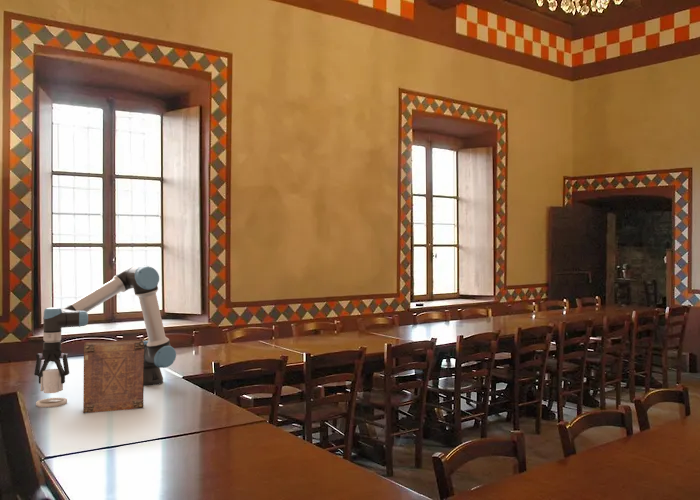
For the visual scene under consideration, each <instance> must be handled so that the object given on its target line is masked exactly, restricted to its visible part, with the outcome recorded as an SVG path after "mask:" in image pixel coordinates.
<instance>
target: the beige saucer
mask: <svg viewBox="0 0 700 500" xmlns="http://www.w3.org/2000/svg"><path fill="white" fill-rule="evenodd" d="M35 404H36V405H35V406H36V407H38V408H42V409H43V408H57V407H61V406H65V405H67V404H68V398H65V397H48V398H43V399H42V398H41V399H39V400H37V401H36V402H35Z"/></svg>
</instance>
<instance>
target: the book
mask: <svg viewBox="0 0 700 500" xmlns="http://www.w3.org/2000/svg"><path fill="white" fill-rule="evenodd" d="M143 341H144V340H143V339H129V340H127V339H126V340H123V339H122V340H106V341H105V340H103V341H100V340H98V341H84V345H83V400H82V401H83V402H82V403H83V406H82V407H83V410H82V412H83V413H84V414H91V413H92V414H93V413H102V412H114V411H128V410H138V409H144V391H145V390H144V389H145V388H144V387H145V386H144V342H143Z"/></svg>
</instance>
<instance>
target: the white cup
mask: <svg viewBox="0 0 700 500" xmlns="http://www.w3.org/2000/svg"><path fill="white" fill-rule="evenodd" d="M60 376H61V375H60V373H59V370H58V368H46V370H45V371H43V387H44V391H43V393H44V394H56V393H59V392H60V391H59V377H60Z"/></svg>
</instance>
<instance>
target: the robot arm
mask: <svg viewBox="0 0 700 500" xmlns="http://www.w3.org/2000/svg"><path fill="white" fill-rule="evenodd" d="M159 282H160V275H159V273H158V270H156V269H155V267H152V266H150V265H131V266H130V267H127V268H125V269H123V270H122V271H121V272H119V273H118V274H115V275H114V276H113V277H112V279H111V280H110V281H108V282H106V283H103V284H102V285H100V286H99V287H97V288H95V290H92V291H91V292H89V293H87V294H86V295H84V296H82V297H81V298H79V299H77V300H75V301H73V302H72V303H70V304H69V305H67V306H65V307H64V308H63V307H46V308H45V309H44V310H43V319H42V320H43V335H42V336H43V338H42V339H43V341H44V342H42V343H43V346H42V350H43V351H42V352H41V353H36V355H35V357H36V362H35V367H34V376H36V377H38V384H39V385H40V392H44V387H43V371H45V370H47V367H48V364H49V363H50V362H54V364H55V365H56V367H57V368H56V369H58V370H59V373H60V375H61V376H60V377H59V392H61V391H63V390H64V384H65V383H66V376H68V375H69V374H70V369H69V368H70V367H69V362H68V361H69V360H68V356H69V353H63V351H62V341H61V340H62V328H75V327H77V328H78V327H79V328H81V327H85V326H87V324H89V314H88V312H90V311H91V310H92V309H95V308H96V307H99V305H101V304H103V303H104V302H106V301H108V300H109V299H112V298H113V297H114V296H116V295H118V294H120V293H121V292H122V293H125V292H126V291H129V290H131V289H133V292H134V295H135V296H137V297H138V300H139V303H140V308H141V312H142V316H143V321H144V324H145V331H146V333H147V339H148V340H143V342H144V387H149V386H156V385H160V384H163V383H164V377H163V373H162V370H161V369H162V368H163V369H165V368H168V367H171V366H172V365H173V364H174V362H175V360H176V358H177V351H176V349H175V348H174V347H173V346H171V342H170V338H168V337H167V336H166V333H165V328H164V325H163V324H164V323H163V319H162V315H161V311H160V305H159V301H158V297H157V292H158V290H159V287H158V284H159ZM60 357H61V358H62V361H61V359H60ZM43 358H44V359H43ZM42 359H43V360H42ZM42 361H43V363H42ZM62 364H63V365H62Z"/></svg>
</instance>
